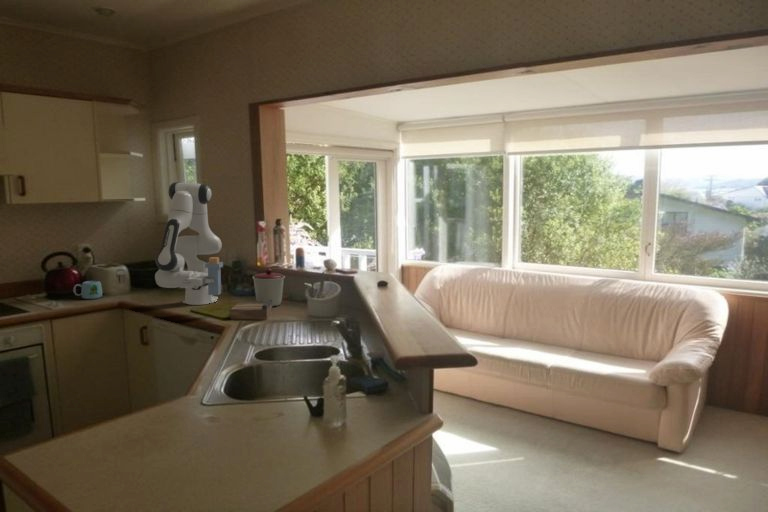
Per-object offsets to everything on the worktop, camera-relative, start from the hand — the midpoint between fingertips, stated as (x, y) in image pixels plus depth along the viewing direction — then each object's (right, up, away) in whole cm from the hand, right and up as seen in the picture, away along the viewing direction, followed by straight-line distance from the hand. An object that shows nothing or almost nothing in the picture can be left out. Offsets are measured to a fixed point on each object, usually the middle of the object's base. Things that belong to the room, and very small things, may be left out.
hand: (216, 279), depth 257 cm
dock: (+18, -19, +3) cm, 26 cm away
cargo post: (-1, -7, +1) cm, 8 cm away
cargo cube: (-1, +7, -1) cm, 7 cm away
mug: (-90, -13, +43) cm, 101 cm away
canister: (+20, -16, +30) cm, 40 cm away
